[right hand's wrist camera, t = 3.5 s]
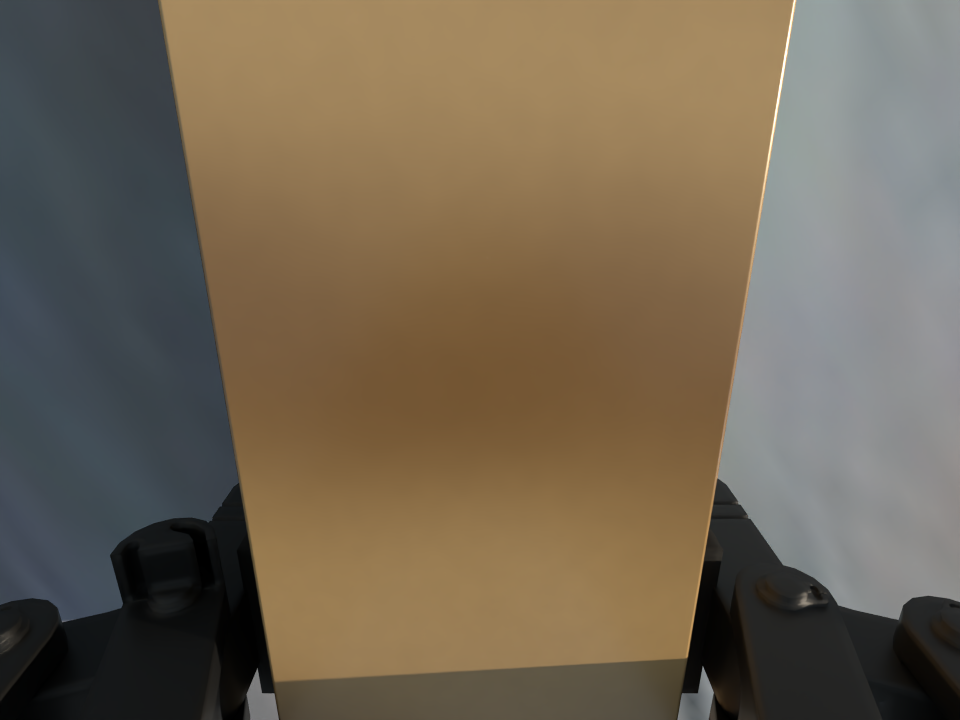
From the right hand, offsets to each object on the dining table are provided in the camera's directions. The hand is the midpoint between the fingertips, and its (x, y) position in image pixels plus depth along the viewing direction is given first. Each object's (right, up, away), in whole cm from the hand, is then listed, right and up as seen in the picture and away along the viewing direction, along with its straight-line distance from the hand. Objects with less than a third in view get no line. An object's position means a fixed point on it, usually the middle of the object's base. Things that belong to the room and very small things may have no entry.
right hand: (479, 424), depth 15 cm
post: (0, +29, -10) cm, 31 cm away
